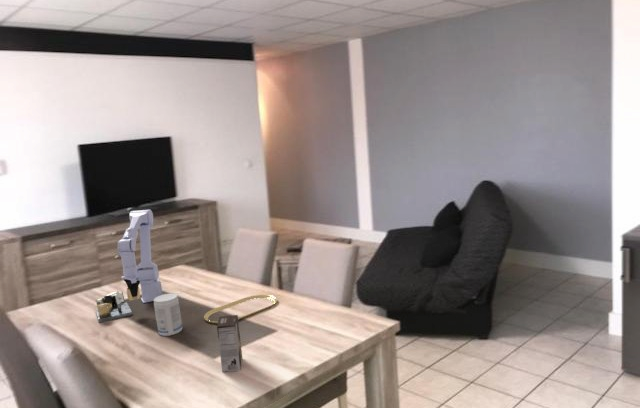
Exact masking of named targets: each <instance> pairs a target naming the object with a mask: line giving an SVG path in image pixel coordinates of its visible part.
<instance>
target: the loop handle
mask: <svg viewBox="0 0 640 408" xmlns="http://www.w3.org/2000/svg"><path fill="white" fill-rule="evenodd" d="M254 298H256V299H254ZM257 298H260V299H264V298H267V300H270V299H271V301H272V300H273V301H274V302H273V301H272V302H273V303H274V304H271V305H268V306H266V307H263V308H261V309H258V310H255V311H253V312H250V313H248V314H246V315H242V316H239V317H238V321H240V320H242V319H245V318H248V317H250V316H252V314H253V315H255V314H258V313H259V312H262V311H266V310H267V309H271V308H272V307H274V306H275V305H276V304H277V302H278V299H277V297H276V296H273V295H269V294H259V295H258V294H256V295H250V296H246V297H244V298H240V299H238V300H235V301H232V302H229V303H227V304H224V305H222V306H219V307H216V308H213V309H211V310H209V311H207V312H205V314H204V315H203V319H204V320H205V321H206V322H208V323H210V324H214V323H215V325H218V321H212V320H209V317H210V316H211V315H213V314H215V313H218V312H221V311H223V310H227V309H228V308H231V307H234V306H237V305H239V303H240V304H242V302H243V303H245V302H247V301H246V300H248V301H251V300H250V299H252V300H257ZM244 301H245V302H244ZM236 304H237V305H236ZM247 316H248V317H247ZM208 320H209V321H208Z"/></svg>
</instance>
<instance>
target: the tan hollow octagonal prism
mask: <svg viewBox="0 0 640 408" xmlns="http://www.w3.org/2000/svg"><path fill="white" fill-rule="evenodd" d="M140 291H141V290H140V286H138V295H137V296H136V297H132V295H131V292H130V289H129V288H128V287H127V288H126V295H127V300H128V301H136V300H139V299H141V293H140Z"/></svg>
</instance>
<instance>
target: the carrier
mask: <svg viewBox="0 0 640 408" xmlns="http://www.w3.org/2000/svg"><path fill="white" fill-rule="evenodd" d="M96 307H97V308H95V309H94V311H95V315H96V318H97V321H98V323H104V321H105V322H109V321H112V320H117V319H120V318H121V319H122V318H126V317H129V316H133V311H132V309H131V308H130V306H129V303H128V302H127V301H126V302H122V303H118V304H117V305H116V306H112V303H103V304H100V305H98V306H97V305H96ZM108 320H109V321H108Z"/></svg>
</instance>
